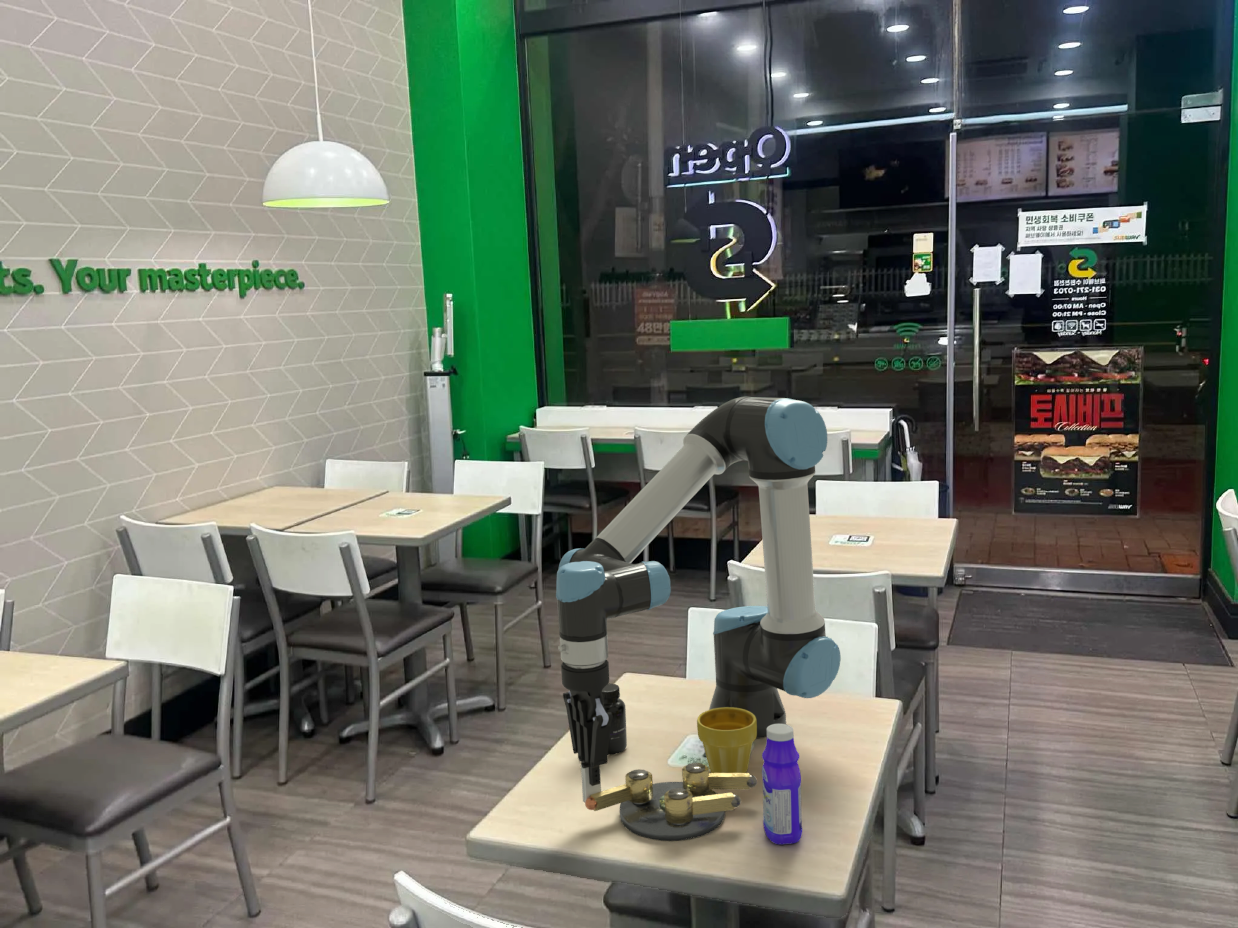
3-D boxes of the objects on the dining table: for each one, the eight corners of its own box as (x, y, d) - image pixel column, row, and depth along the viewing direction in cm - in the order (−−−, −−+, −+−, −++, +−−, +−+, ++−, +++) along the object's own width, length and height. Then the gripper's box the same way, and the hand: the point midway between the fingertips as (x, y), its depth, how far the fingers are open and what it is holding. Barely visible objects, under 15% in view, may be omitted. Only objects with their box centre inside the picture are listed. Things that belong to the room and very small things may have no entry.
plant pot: (723, 789, 175) (721, 734, 174) (687, 768, 184) (685, 716, 182) (770, 772, 180) (768, 719, 179) (733, 752, 189) (731, 702, 188)
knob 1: (644, 787, 172) (643, 765, 171) (658, 797, 168) (657, 774, 168) (579, 808, 166) (578, 785, 165) (593, 819, 162) (591, 795, 161)
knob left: (682, 795, 168) (681, 772, 168) (683, 783, 173) (682, 760, 172) (757, 795, 167) (757, 772, 167) (756, 783, 172) (756, 760, 171)
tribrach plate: (710, 784, 177) (709, 769, 177) (737, 832, 160) (736, 816, 160) (612, 796, 174) (611, 781, 174) (629, 846, 158) (629, 830, 157)
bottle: (759, 825, 162) (756, 720, 160) (794, 822, 163) (792, 717, 160) (769, 849, 155) (766, 739, 153) (806, 845, 156) (804, 736, 153)
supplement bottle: (623, 756, 190) (620, 694, 188) (587, 755, 191) (584, 693, 189) (630, 741, 196) (627, 681, 195) (595, 740, 198) (592, 680, 196)
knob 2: (668, 825, 159) (667, 800, 159) (662, 811, 163) (661, 788, 163) (744, 815, 161) (744, 791, 160) (737, 802, 165) (736, 778, 165)
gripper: (545, 654, 166) (554, 791, 170) (582, 677, 155) (590, 823, 159) (586, 644, 170) (594, 779, 173) (625, 667, 158) (632, 810, 162)
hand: (592, 800), depth 166 cm, fingers closed
